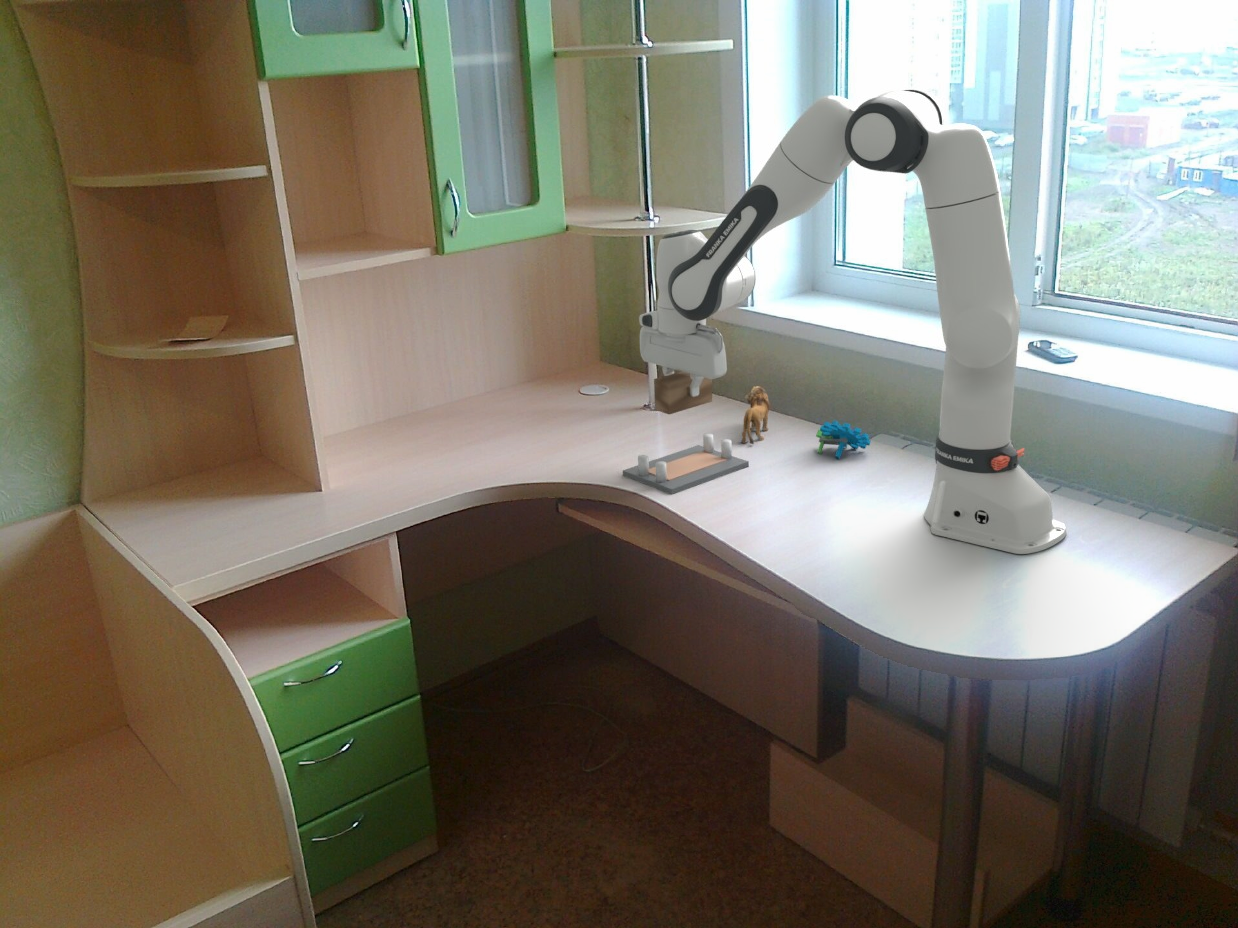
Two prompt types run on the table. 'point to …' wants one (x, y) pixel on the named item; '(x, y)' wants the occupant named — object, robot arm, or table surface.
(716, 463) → the cradle
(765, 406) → the lion figurine
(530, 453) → the table surface
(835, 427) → the blue spiky animal toy
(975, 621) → the table surface
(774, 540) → the table surface
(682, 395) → the block
